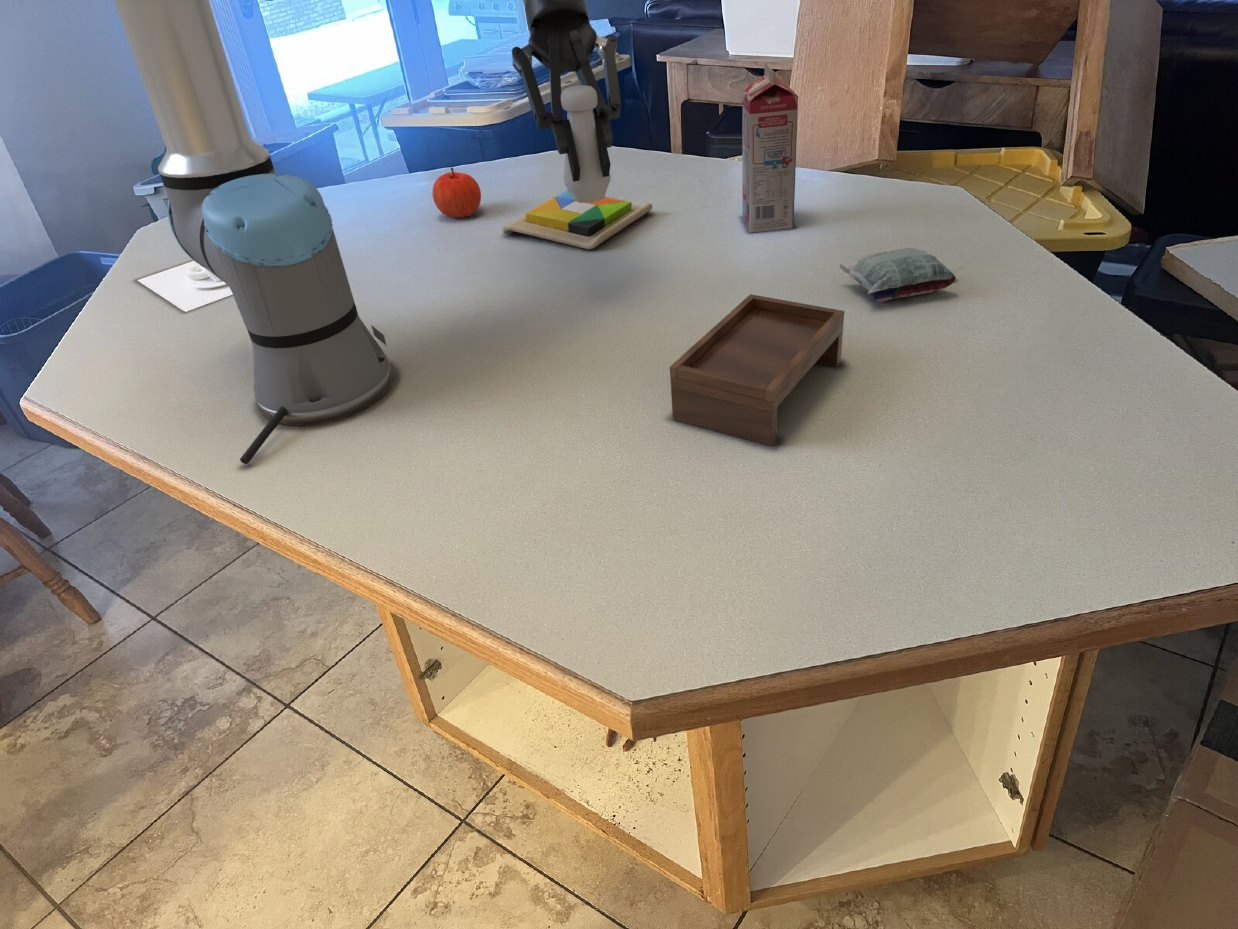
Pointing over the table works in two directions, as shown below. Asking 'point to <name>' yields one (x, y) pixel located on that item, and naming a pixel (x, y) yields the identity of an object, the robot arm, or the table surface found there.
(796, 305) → the spice rack
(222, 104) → the robot arm
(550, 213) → the wooden puzzle
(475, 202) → the apple
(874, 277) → the packaged food
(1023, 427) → the table surface
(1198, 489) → the table surface
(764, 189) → the juice carton
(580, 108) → the salt shaker
